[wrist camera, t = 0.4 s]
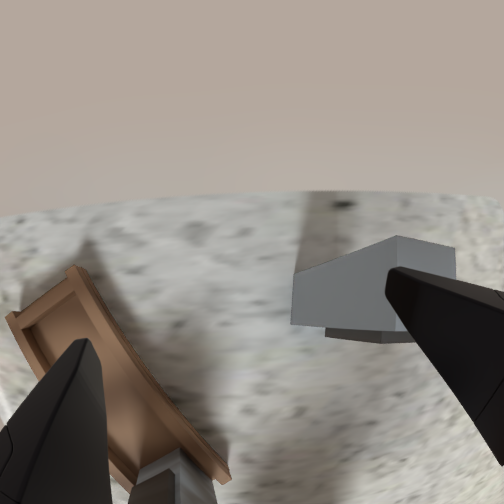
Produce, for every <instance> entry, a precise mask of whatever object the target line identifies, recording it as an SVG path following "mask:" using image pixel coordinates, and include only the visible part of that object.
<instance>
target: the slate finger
mask: <svg viewBox="0 0 504 504" xmlns="http://www.w3.org/2000/svg"><path fill="white" fill-rule="evenodd" d="M398 266H402V267H406V268H410V269H414V270H419V271H423V272H427V273H431V274H435V275H439V276H443V277H447V278H451V279H455V280H456V259H455V248H453V247H449V246H444V245H440V244H435V243H431V242H426V241H421V240H417V239H412V238H407V237H402V236H397V235H396V236H394V237H391V238H389V239H386V240H384V241H381V242H378V243H376V244H373V245H371V246H368V247H365V248H363V249H360V250H358V251H355V252H352V253H350V254H347V255H344V256H342V257H339V258H336V259H334V260H331V261H328V262H326V263H323V264H320V265H317V266H315V267H312V268H309V269H306V270H304V271H301V272H298V273H295V274H294V283H293V298H292V312H291V325H302V326H314V327H326V330H325V337H331V338H338V339H346V340H354V341H362V342H371V343H380V344H386V343H412V342H415V340H414V339H413V338H412V336H411V335H410V334H409V332H408V331H407V329H406V328H405V326H404V325H403V323H402V322H401V320H400V319H399V317H398V316H397V314H396V312H395V311H394V309H393V308H392V306H391V305H390V303H389V302H388V300H387V299H386V297H385V285H386V279H387V274H388V271H389V270H390V269H391V268H394V267H398Z"/></svg>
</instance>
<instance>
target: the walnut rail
mask: <svg viewBox="0 0 504 504" xmlns="http://www.w3.org/2000/svg"><path fill="white" fill-rule="evenodd" d="M65 273H66V275H67V278H66V279H64V280H63V281H61V282H60V283H59V284H57V285H56V286H55V287H53V288H52V289H51V290H49V291H48V292H46V293H45V294H44V295H42V296H41V297H40V298H38V299H37V300H36V301H34V302H33V303H32V304H31V305H29V306H28V307H27V308H25V309H24V310H23V311H22V312H18V311H12V312H11V313H9V314H8V315H7V316H6V317H5V319H6V321H7V323H8V325H9V327H10V329H11V331H12V333H13V335H14V337H15V339H16V341H17V343H18V345H19V347H20V349H21V351H22V353H23V354H24V356H25V358H26V360H27V362H28V363H29V365H30V367H31V369H32V370H33V372H34V374H35V375H36V377H37V379H38V380H39V381H40V380H41V379H42V377H43V376H44V375H45V374H46V373H47V371H48V370H49V369H50V368H51V367H52V365H53V364H54V363H55V362H56V361H57V359H58V358H59V357H60V356H61V355H62V354H63V352H64V351H65V350H66V349H67V348H68V347H69V345H70V344H71V343H72V342H73V341H74V340H76V339H81V338H88V339H90V341H91V342H92V344H93V347H94V349H95V351H96V353H97V355H98V357H99V359H100V362H101V366H102V375H103V386H104V396H105V405H106V414H107V440H108V460H109V473H110V475H111V476H112V477H113V478H114V479H115V480H116V481H117V482H118V483H119V484H120V485H121V486H122V487H123V488H124V489H125V490H126V491H127V492H128V493H129V494H130V497H129V501H128V504H217V500H216V496H215V491H214V487H213V482H212V480H214V479H216V480H217V481H218V482H219V483H220V484H221V485H224V484H225V483H227V482H229V481H230V480H232V478H231V475H230V472H229V467H228V465H227V464H226V463H225V462H224V461H223V460H222V459H221V457H220V456H219V455H218V454H217V453H216V452H215V451H214V450H213V449H212V448H211V447H210V446H209V445H208V443H207V442H206V441H205V440H204V439H203V438H202V437H201V436H200V434H199V433H198V432H197V431H196V430H195V429H194V428H193V426H192V425H191V424H190V423H189V422H188V420H187V419H186V418H185V417H184V416H183V414H182V413H181V412H180V411H179V410H178V408H177V407H176V406H175V405H174V403H173V402H172V401H171V400H170V398H169V397H168V396H167V394H166V393H165V392H164V391H163V389H162V388H161V387H160V385H159V384H158V383H157V381H156V380H155V379H154V377H153V376H152V375H151V373H150V372H149V370H148V369H147V368H146V366H145V365H144V363H143V362H142V361H141V359H140V358H139V356H138V355H137V353H136V352H135V350H134V349H133V347H132V346H131V345H130V343H129V342H128V340H127V338H126V337H125V335H124V334H123V332H122V331H121V329H120V328H119V326H118V325H117V323H116V321H115V320H114V318H113V316H112V315H111V313H110V312H109V310H108V308H107V307H106V305H105V303H104V302H103V300H102V298H101V296H100V295H99V293H98V291H97V289H96V288H95V286H94V284H93V282H92V281H91V279H90V277H89V275H88V273H87V271H86V270H85V269H84V268H82V267H81V268H80V267H78V266H76V265H73V266H72V267H70V268H69V269H67V270H66V271H65Z"/></svg>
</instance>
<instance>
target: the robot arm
mask: <svg viewBox="0 0 504 504" xmlns="http://www.w3.org/2000/svg"><path fill="white" fill-rule="evenodd" d="M385 297H386V299H387V300H388V302H389V303H390V305H391V306H392V308H393V309H394V311H395V312H396V314H397V316H398V317H399V319H400V320H401V322H402V323H403V325H404V326H405V328H406V329H407V331H408V332H409V334H410V335H411V336H412V338H413V339H414V340H415V342H416V343H417V344H418V346H419V347H420V348H421V350H422V351H423V352H424V353H425V355H426V356H427V357H428V359H429V360H430V362H431V363H432V364H433V366H434V367H435V368H436V370H437V371H438V372H439V374H440V375H441V376H442V378H443V379H444V381H445V382H446V383H447V385H448V386H449V388H450V389H451V390H452V392H453V393H454V395H455V396H456V398H457V399H458V400H459V402H460V403H461V405H462V406H463V408H464V409H465V411H466V412H467V414H468V415H469V417H470V418H471V420H472V421H473V422H474V425H475V426H476V428H477V429H478V431H479V432H480V434H481V435H482V437H483V438H484V440H485V442H486V443H487V445H488V446H489V448H490V450H491V451H492V453H493V454H494V456H495V458H496V459H497V461H498V463H499V464H500V465H501V466H503V465H504V292H502V291H498V290H493V289H490V288H486V287H482V286H479V285H475V284H471V283H467V282H463V281H459V280H455V279H451V278H447V277H443V276H439V275H435V274H431V273H427V272H423V271H419V270H414V269H410V268H406V267H402V266H398V267H394V268H391V269H390V270H389V271H388V274H387V279H386V285H385ZM0 504H113V503H112V494H111V485H110V473H109V460H108V440H107V414H106V405H105V396H104V386H103V375H102V366H101V362H100V359H99V357H98V355H97V353H96V351H95V349H94V347H93V344H92V342H91V341H90V339H88V338H81V339H76V340H74V341H73V342H72V343H71V344H70V345H69V347H68V348H67V349H66V350H65V351H64V352H63V354H62V355H61V356H60V357H59V358H58V359H57V361H56V362H55V363H54V364H53V365H52V367H51V368H50V369H49V370H48V371H47V373H46V374H45V375H44V376H43V377H42V379H41V380H40V381H39V382H38V384H37V385H36V386H35V387H34V389H33V390H32V391H31V392H30V394H29V395H28V396H27V397H26V399H25V400H24V401H23V402H22V404H21V405H20V406H19V408H18V409H17V410H16V412H15V413H14V414H13V415H12V417H11V418H10V419H9V421H8V422H7V425H5V426H4V427H3V429H2V430H1V432H0Z"/></svg>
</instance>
